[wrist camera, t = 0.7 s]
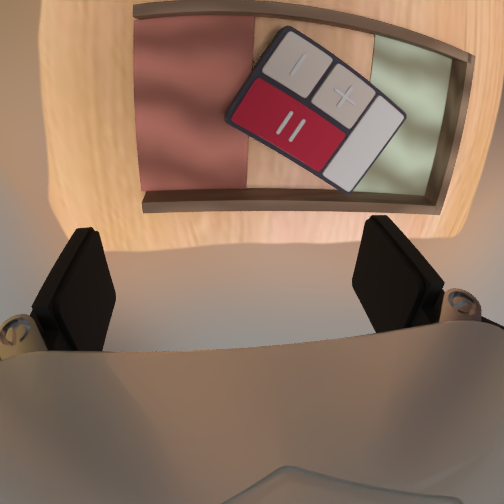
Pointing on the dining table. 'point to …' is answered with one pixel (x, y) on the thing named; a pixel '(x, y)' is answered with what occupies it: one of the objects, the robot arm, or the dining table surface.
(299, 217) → the dining table surface
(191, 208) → the brown wooden tray
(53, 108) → the dining table surface
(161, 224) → the dining table surface
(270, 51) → the calculator
